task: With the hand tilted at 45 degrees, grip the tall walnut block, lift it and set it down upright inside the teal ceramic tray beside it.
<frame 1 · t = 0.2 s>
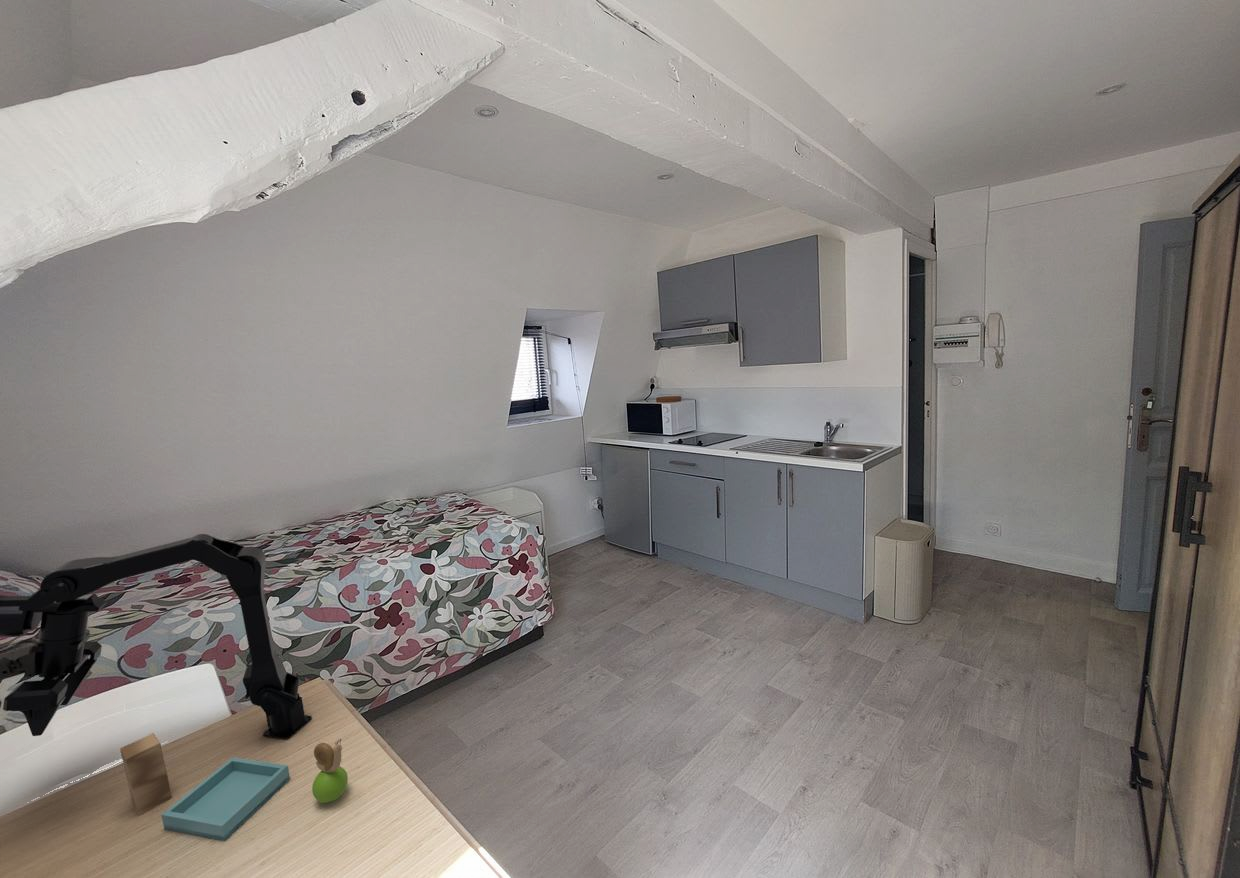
hand: (50, 719, 91), 16 cm above the table, tool pointing down, fingers open, 9 cm apart
snail figurine: (334, 799, 90), on the table
walnut block: (152, 800, 92), on the table
teal tray: (230, 802, 91), on the table
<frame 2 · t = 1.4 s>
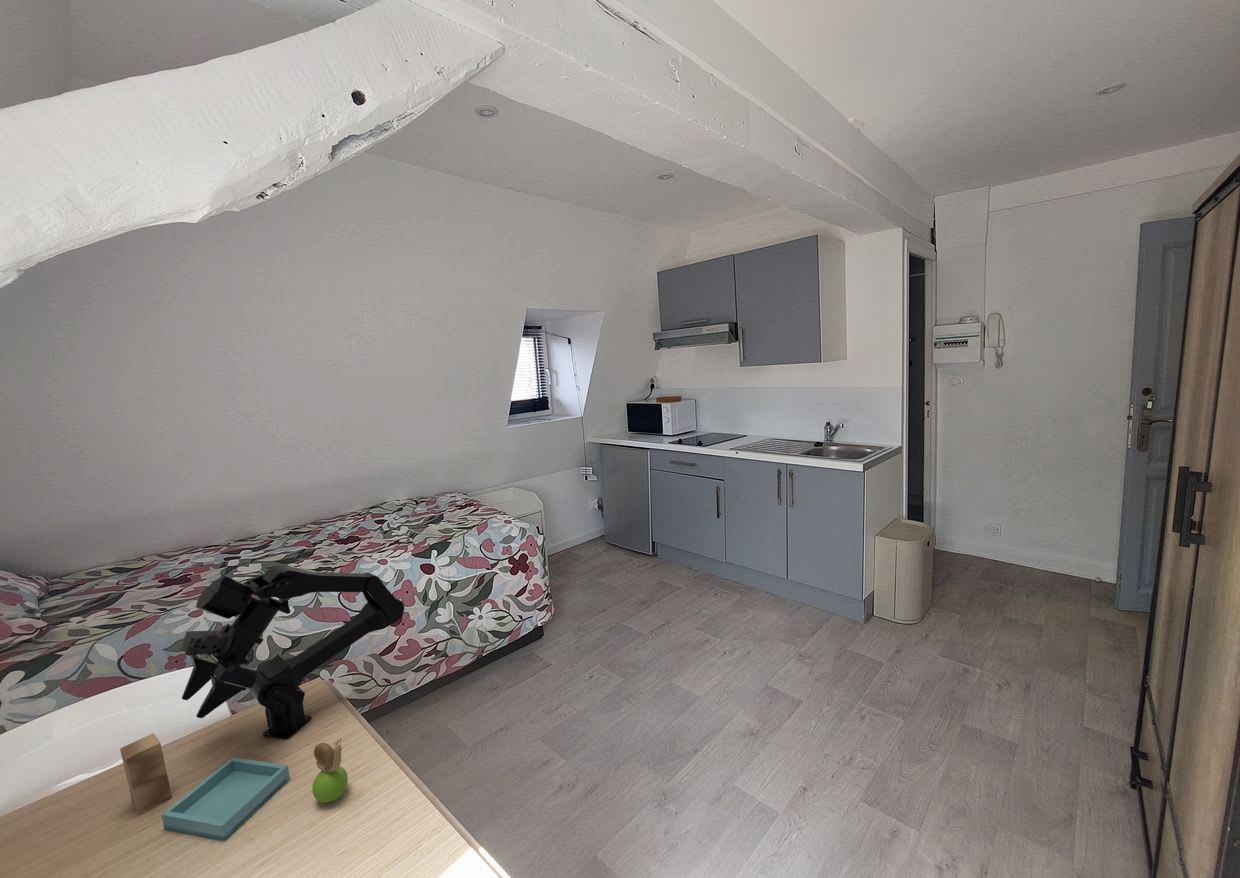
hand: (191, 708, 96), 13 cm above the table, tool tilted 45°, fingers open, 9 cm apart
nothing on the table moved.
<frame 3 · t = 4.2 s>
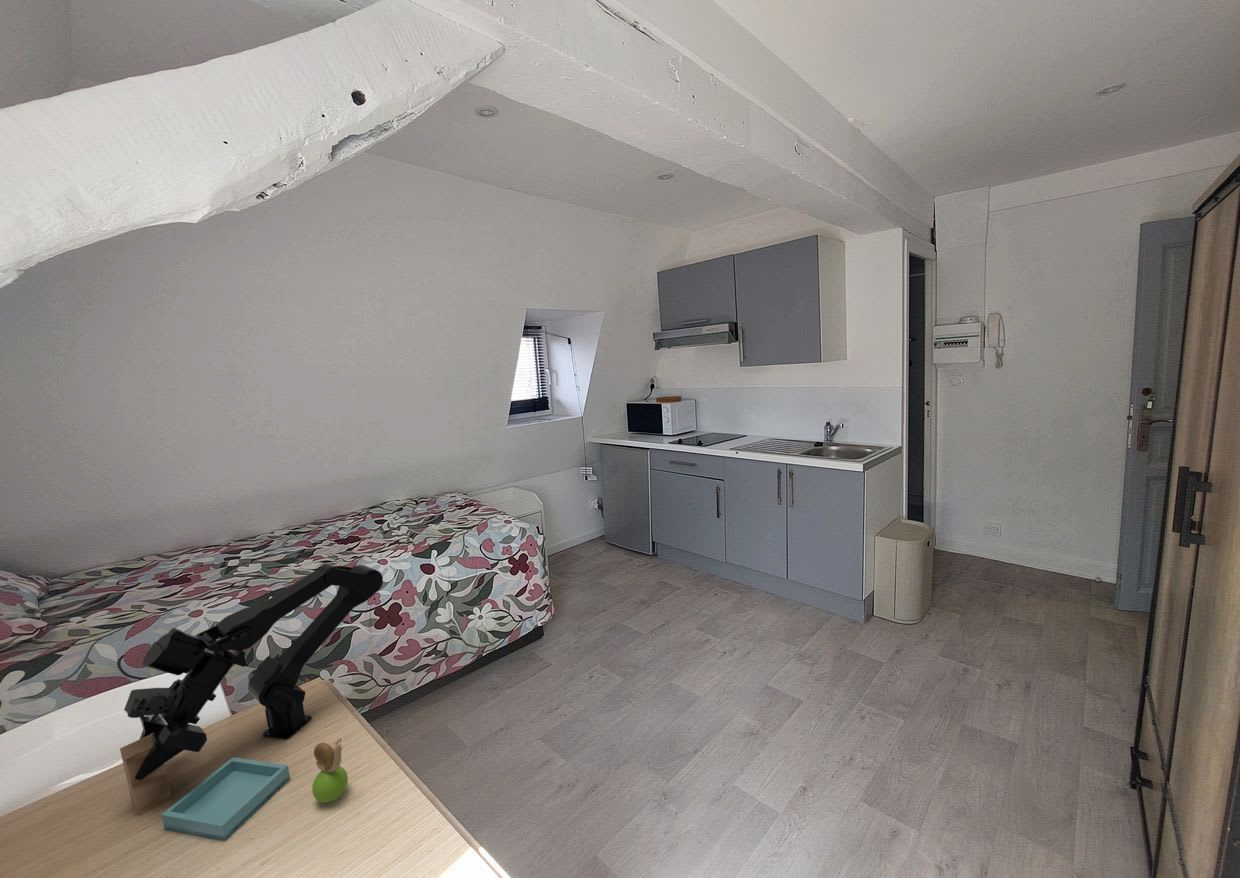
hand: (134, 773, 90), 7 cm above the table, tool tilted 45°, fingers closed on walnut block, 4 cm apart
walnut block: (152, 800, 92), on the table, touching gripper
everything else where it was.
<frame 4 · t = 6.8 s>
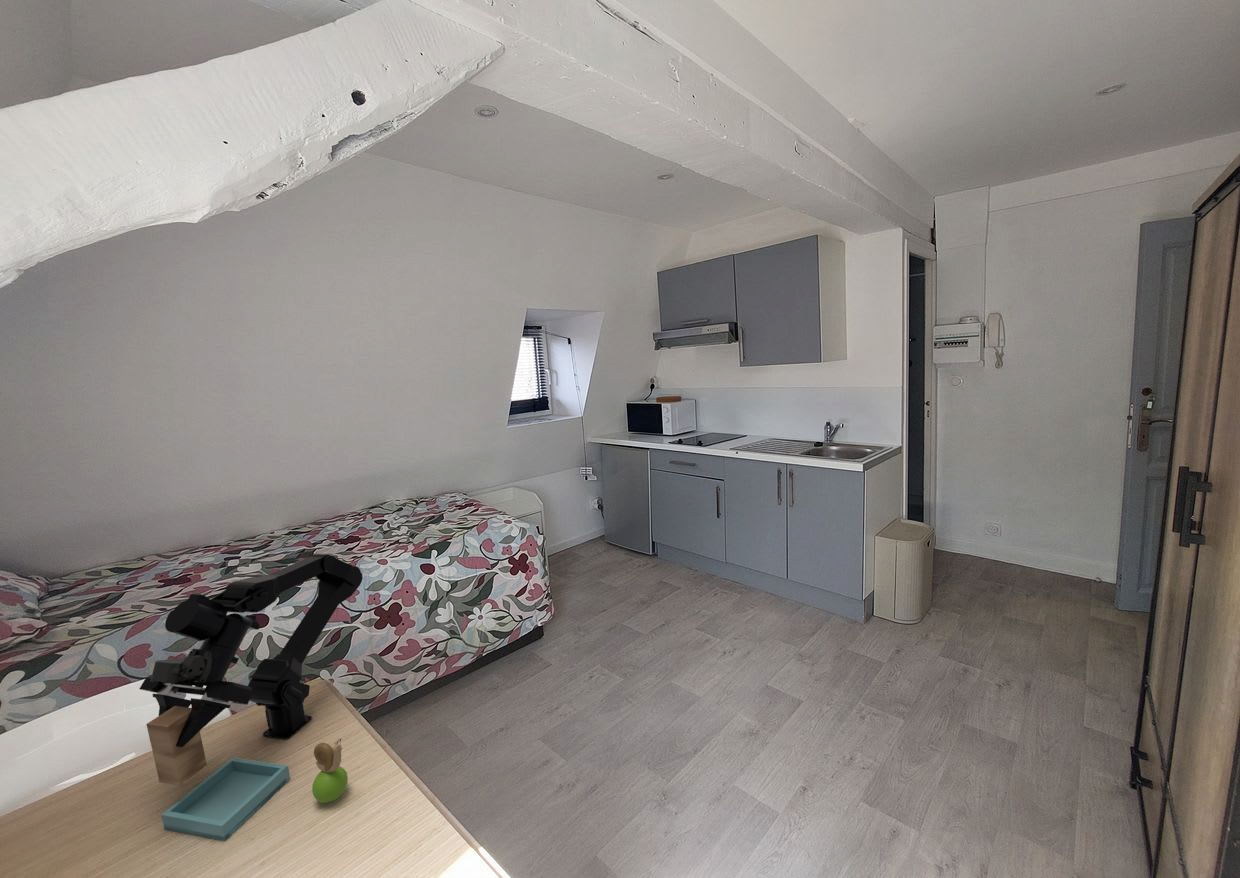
hand: (167, 745, 86), 14 cm above the table, tool tilted 45°, fingers closed on walnut block, 4 cm apart
walnut block: (183, 773, 89), point 7 cm above the table, touching gripper
everything else where it was.
when the fingers open (9 cm above the table, at t = 9.3 s): walnut block drops 1 cm, resting on teal tray.
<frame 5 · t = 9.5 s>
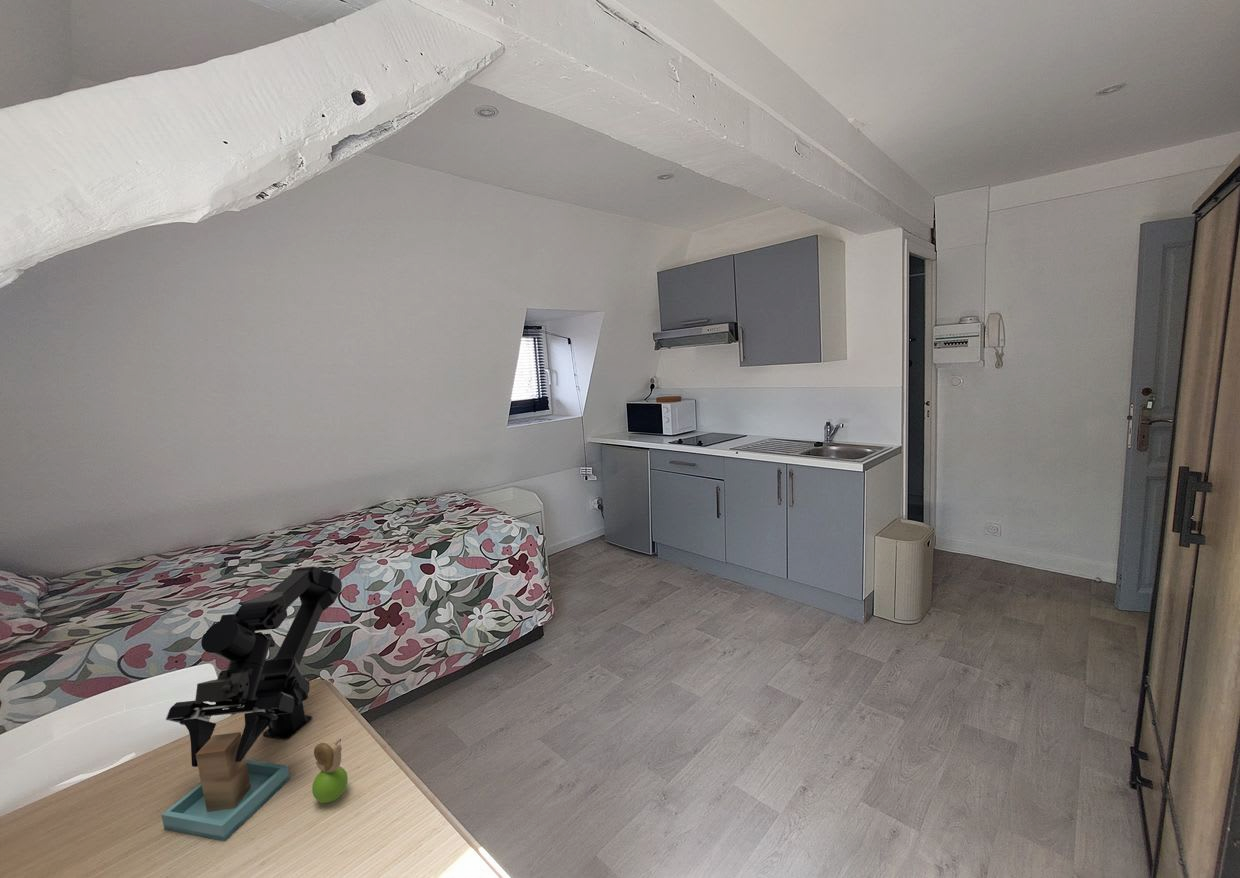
hand: (216, 764, 88), 9 cm above the table, tool tilted 45°, fingers open, 7 cm apart
walnut block: (229, 799, 90), point 1 cm above the table, touching teal tray
everything else where it was.
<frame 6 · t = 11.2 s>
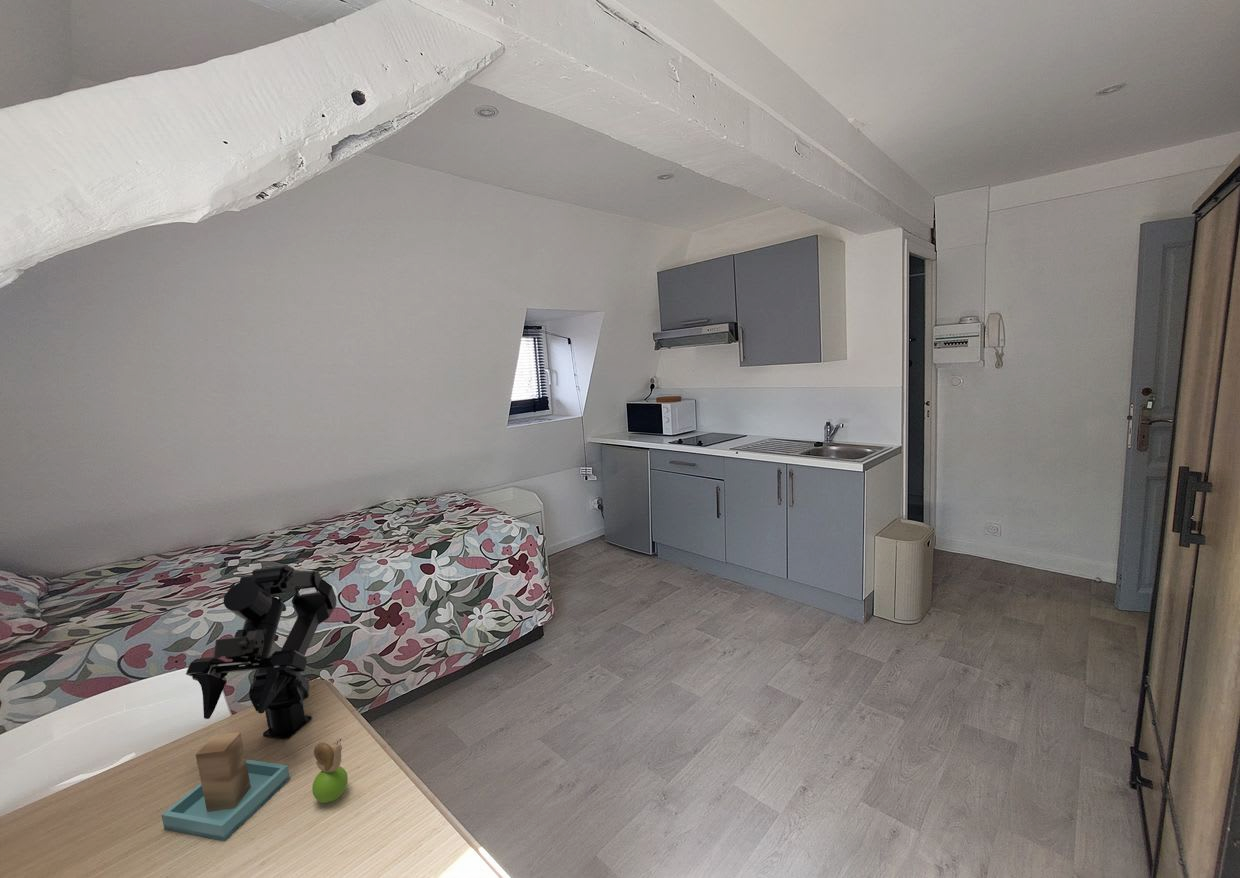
hand: (233, 715, 93), 14 cm above the table, tool tilted 45°, fingers open, 9 cm apart
nothing on the table moved.
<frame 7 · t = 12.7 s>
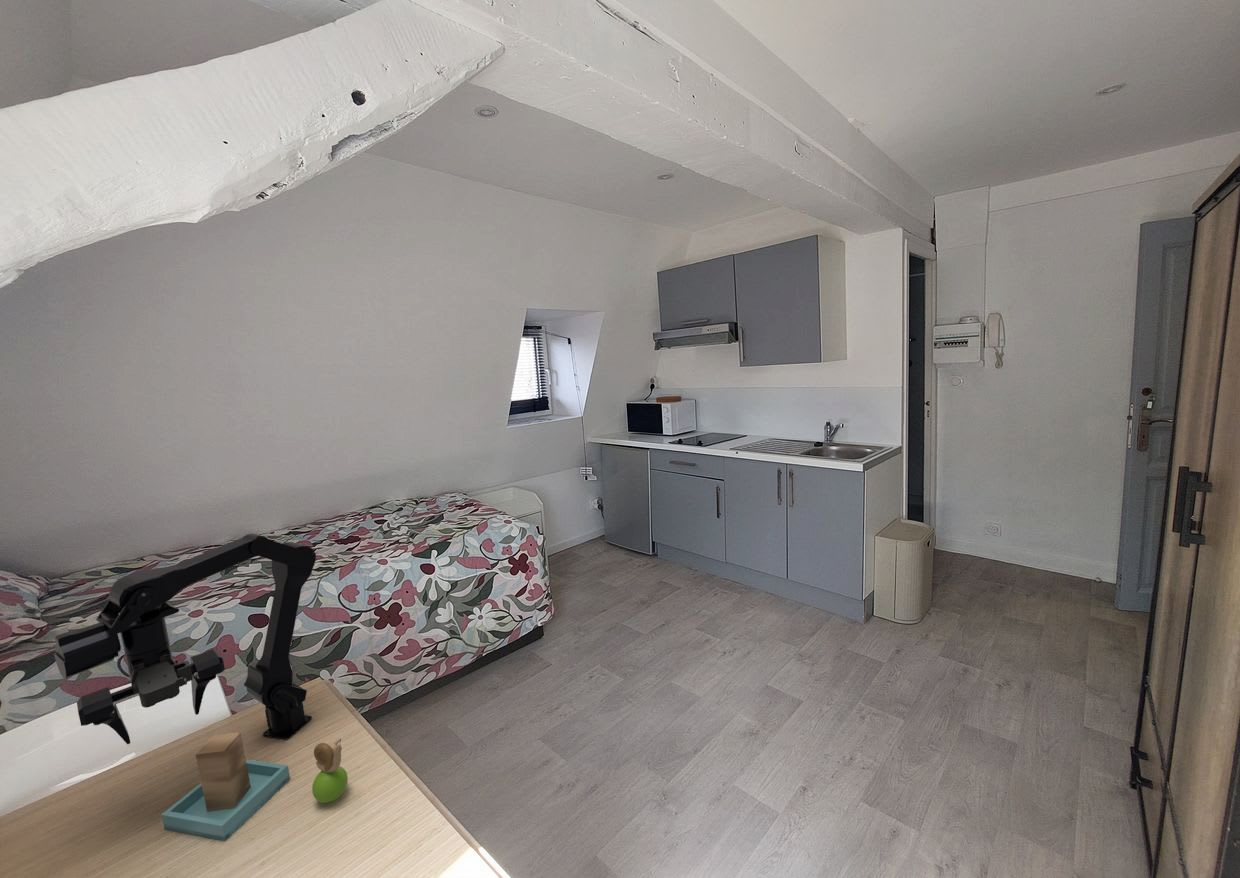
hand: (164, 727, 92), 13 cm above the table, tool pointing down, fingers open, 9 cm apart
nothing on the table moved.
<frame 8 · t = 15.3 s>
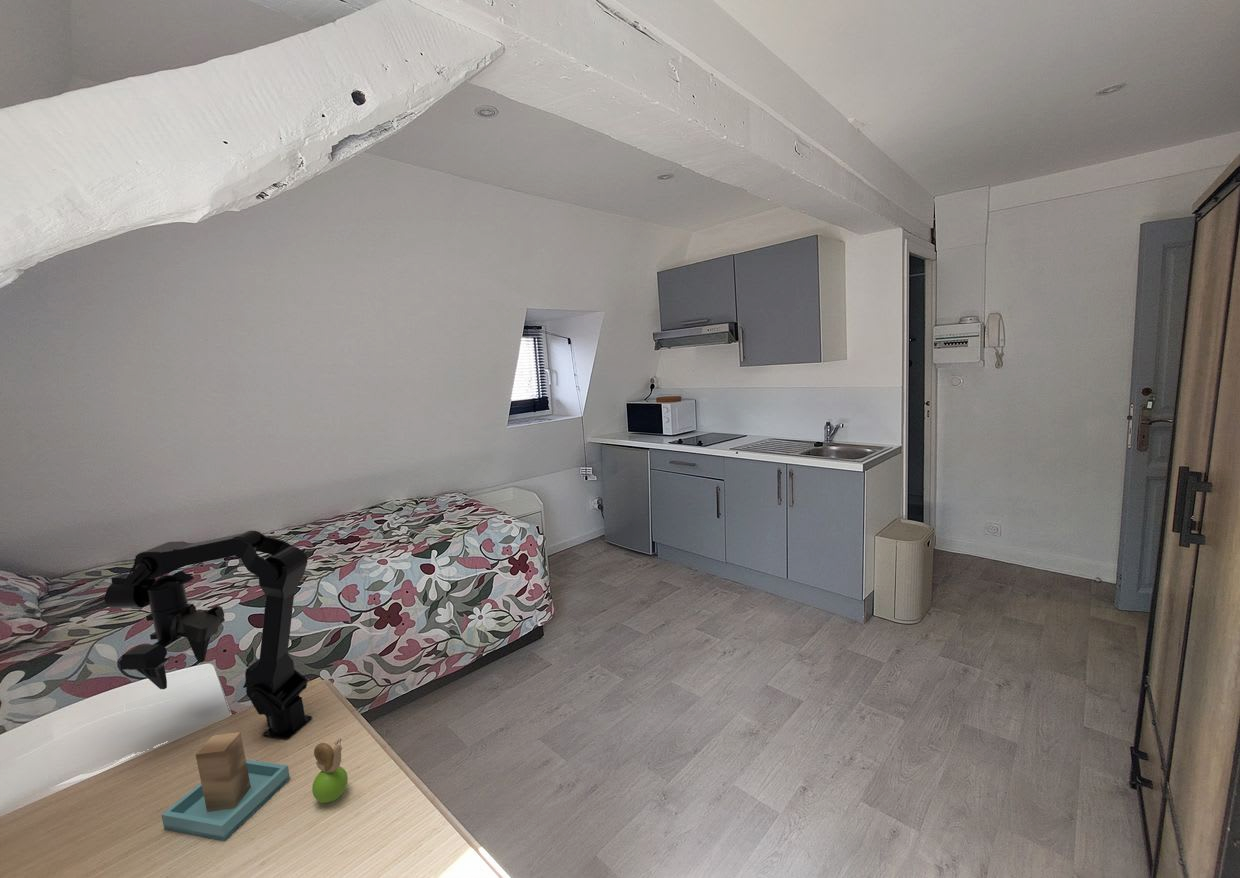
hand: (183, 674, 108), 13 cm above the table, tool pointing down, fingers open, 9 cm apart
nothing on the table moved.
at the end: walnut block inside the target area on the teal tray (0.1 cm from its centre), point 0.8 cm above the teal tray's base; walnut block tilted 0°; the gripper is holding nothing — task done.
